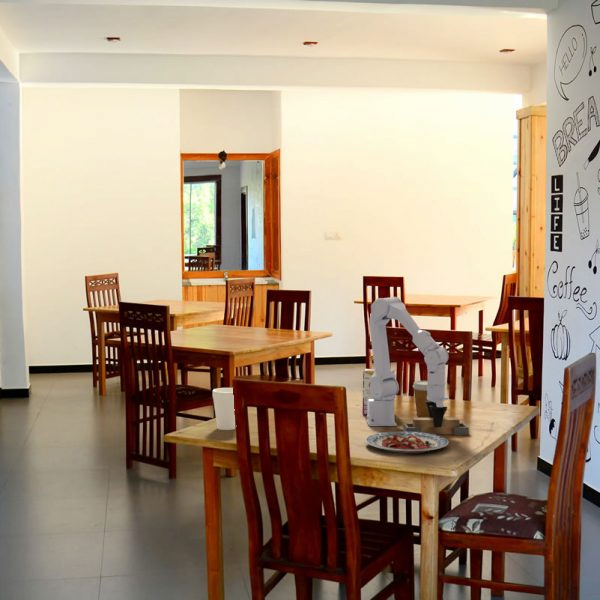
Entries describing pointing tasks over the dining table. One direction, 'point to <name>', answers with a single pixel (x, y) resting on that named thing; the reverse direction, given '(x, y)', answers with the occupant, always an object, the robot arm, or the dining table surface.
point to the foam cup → (224, 408)
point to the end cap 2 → (461, 429)
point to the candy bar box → (367, 387)
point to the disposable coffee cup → (421, 398)
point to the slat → (428, 427)
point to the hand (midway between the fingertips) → (435, 424)
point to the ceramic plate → (406, 441)
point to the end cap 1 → (410, 427)
